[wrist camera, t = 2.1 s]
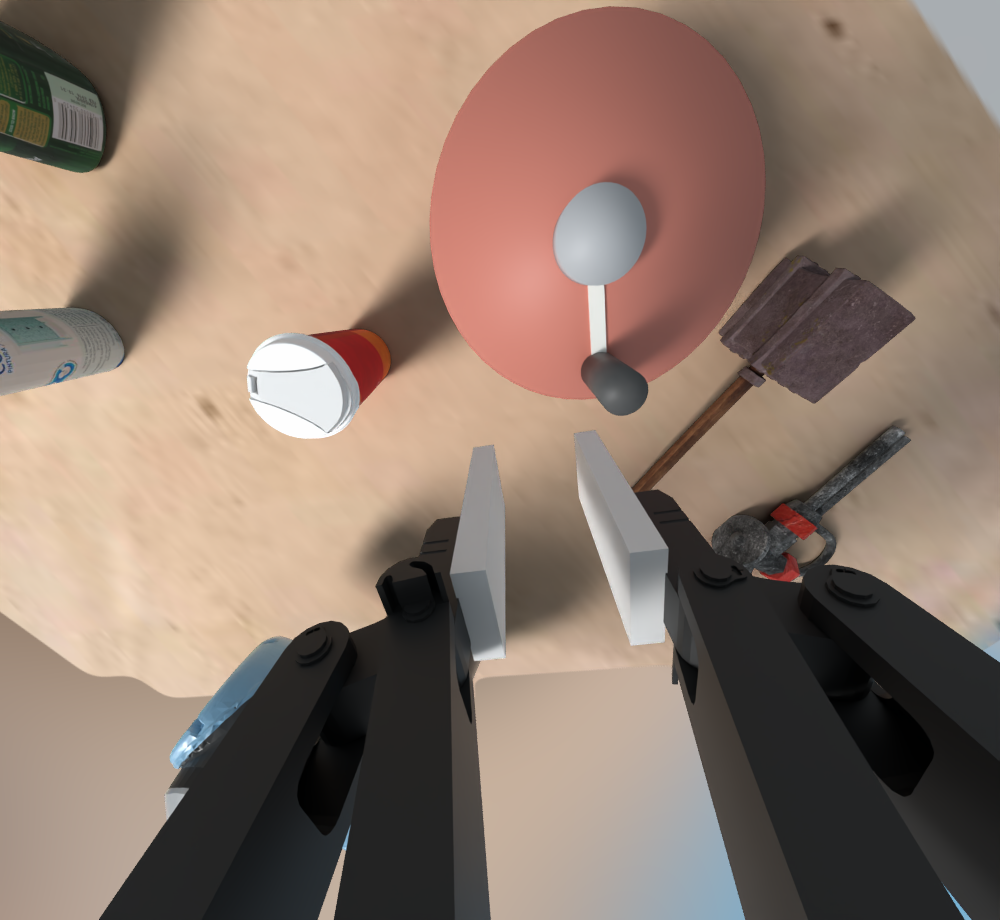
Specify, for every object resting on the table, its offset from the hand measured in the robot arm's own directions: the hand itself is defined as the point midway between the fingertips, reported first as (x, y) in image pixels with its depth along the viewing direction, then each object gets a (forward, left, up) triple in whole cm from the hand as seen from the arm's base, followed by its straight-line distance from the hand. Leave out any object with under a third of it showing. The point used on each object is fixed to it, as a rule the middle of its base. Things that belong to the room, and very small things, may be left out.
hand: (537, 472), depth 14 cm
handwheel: (+6, +8, -18) cm, 21 cm away
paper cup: (-16, +2, -27) cm, 31 cm away
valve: (+32, -26, -27) cm, 49 cm away
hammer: (+17, -10, -27) cm, 34 cm away
